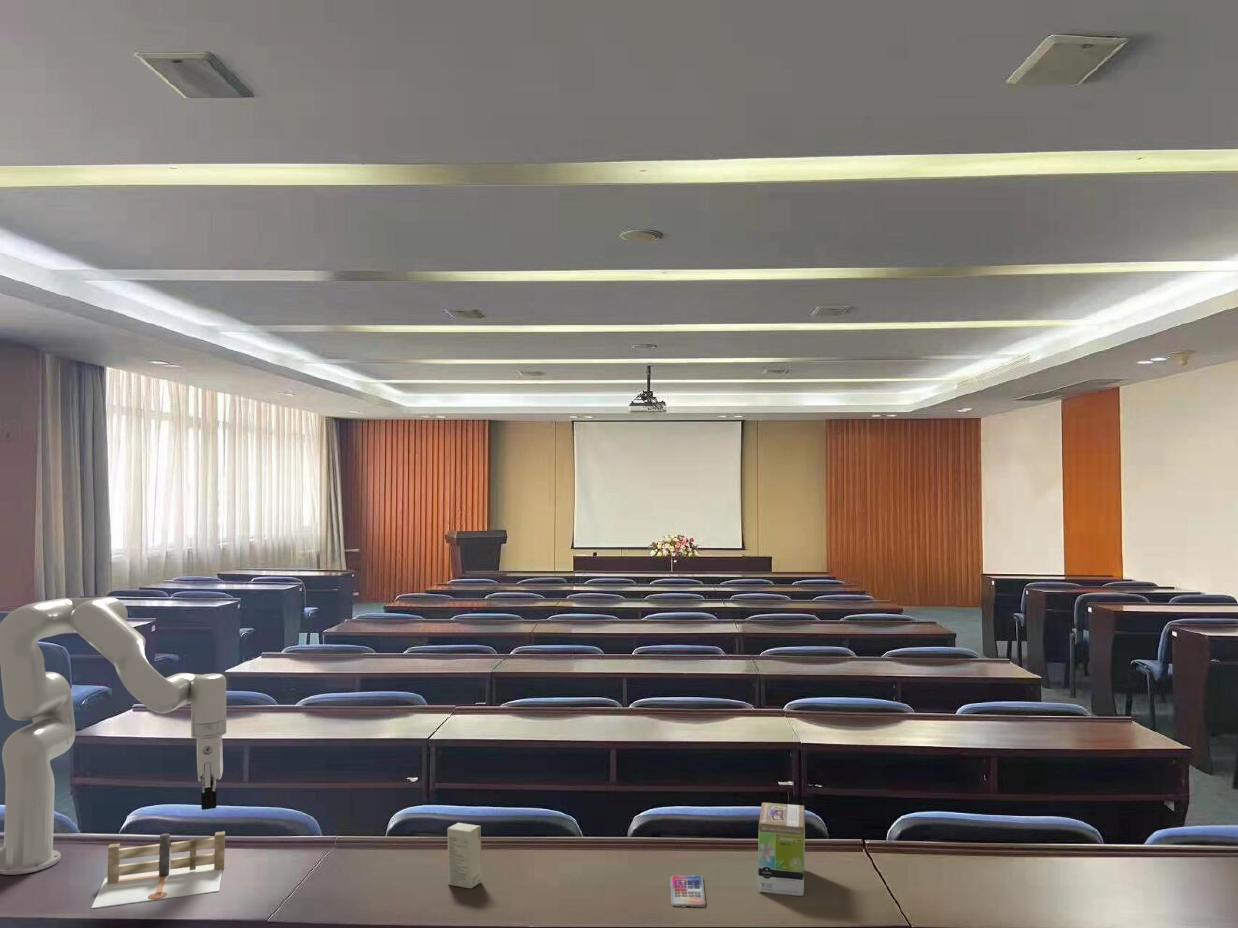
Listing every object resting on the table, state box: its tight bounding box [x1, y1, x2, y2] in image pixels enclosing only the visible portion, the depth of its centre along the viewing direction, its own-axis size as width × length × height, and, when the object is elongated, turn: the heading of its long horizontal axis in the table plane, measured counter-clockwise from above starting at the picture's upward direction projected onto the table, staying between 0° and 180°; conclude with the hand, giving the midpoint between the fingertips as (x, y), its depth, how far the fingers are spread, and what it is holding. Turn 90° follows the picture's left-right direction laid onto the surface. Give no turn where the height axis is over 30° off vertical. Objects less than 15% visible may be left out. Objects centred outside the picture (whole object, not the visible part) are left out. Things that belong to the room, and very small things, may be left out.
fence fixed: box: [106, 833, 171, 884], centre depth 201 cm, size 12×2×9 cm, turn 110°
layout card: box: [91, 864, 224, 910], centre depth 197 cm, size 24×16×1 cm
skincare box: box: [446, 822, 482, 889], centre depth 199 cm, size 6×4×12 cm
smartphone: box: [669, 875, 707, 908], centre depth 194 cm, size 7×1×15 cm
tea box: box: [757, 802, 806, 897], centre depth 200 cm, size 15×10×15 cm
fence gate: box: [169, 830, 226, 870], centre depth 205 cm, size 11×2×8 cm, turn 111°
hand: (209, 807), depth 211 cm, fingers closed
